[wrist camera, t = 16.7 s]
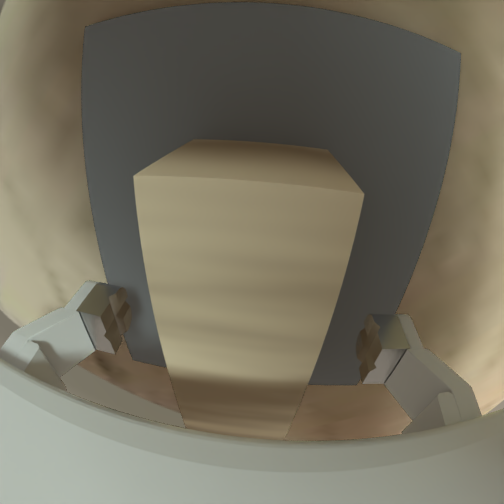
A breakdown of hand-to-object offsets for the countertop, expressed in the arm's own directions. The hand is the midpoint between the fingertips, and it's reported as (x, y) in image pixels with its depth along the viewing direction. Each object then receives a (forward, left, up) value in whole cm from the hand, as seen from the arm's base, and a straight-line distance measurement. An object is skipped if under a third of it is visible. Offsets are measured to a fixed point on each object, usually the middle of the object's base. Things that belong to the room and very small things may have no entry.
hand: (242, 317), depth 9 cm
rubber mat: (-1, 0, -3) cm, 4 cm away
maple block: (+7, 0, -1) cm, 7 cm away
